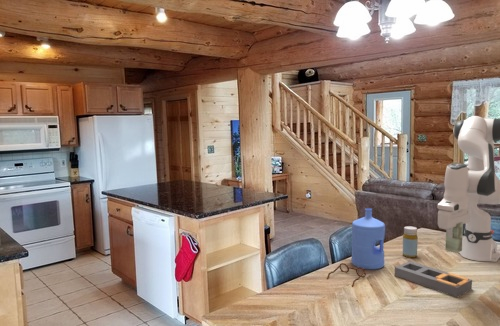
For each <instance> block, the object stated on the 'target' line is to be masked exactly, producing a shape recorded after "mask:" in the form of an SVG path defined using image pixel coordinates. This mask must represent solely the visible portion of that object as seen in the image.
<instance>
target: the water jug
mask: <svg viewBox="0 0 500 326" xmlns="http://www.w3.org/2000/svg"><path fill="white" fill-rule="evenodd" d="M364 210H365V212H364V213H365V214H364V216H363V217H360V218H358V219H355V220H353V221H352V223H351V234H352V235H351V264H352V265H353V266H354V267H356V268H363V269H364V270H379V269H381V268H383V267H384V266H385V250H384V245H385V244H384V240H385V236H386V225H385V223H384V222H383V221H381V220H379V219H377V218H374V217H373V215H372V214H373V212H372V210H373V208H370V207H367V208H364ZM378 241H379V247H378V246H376V245H375V242H378Z"/></svg>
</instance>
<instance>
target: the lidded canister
mask: <svg viewBox="0 0 500 326" xmlns="http://www.w3.org/2000/svg"><path fill="white" fill-rule="evenodd" d="M417 232H418V228H417V227H416V226H410V225H408V226H404V227H403V234H402V255H403V257H405V256H407V257H406V258H409V257H414V258H416V257H417V256H418V238H419V237H418V233H417Z"/></svg>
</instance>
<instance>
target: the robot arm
mask: <svg viewBox="0 0 500 326" xmlns="http://www.w3.org/2000/svg"><path fill="white" fill-rule="evenodd" d="M452 130H453V132H452V133H453V136H454V138H455V139H456V140H457V146H458V148H459V150H461V151H460V152H463V153H464V154H466V155H468V163H467V164H465V163H461V162H459V163H458V162H453V163H449V164H448V165H446V169H445V174H444V177H443V178H444V179H443V180H444V181H443V186H444V192H443V198H442V199H441V201H439V203H437V209H438V212H437V227H438V228H439V229H441V230H445V231H446V230H447V233H448V237H449V238H453V237H454V233H453V232H452V230H453V227H456V225H457V224H458V223H461V222H463V225H465V228H464V229H463V230H464V231H463V236H462V251H460V252H458V254H460V256H461V257H463V258H465V259H469V260H471V261H478V262H492V263H497V262H498V261H499V260H500V251H499V250H498V243H497V242H496V241H495V240H494V238H493V234H494V232H495V231H494V230H492V228H491V226H492V225H491V224H492V216H491V215H490V214H489V212H487V211H485V210H483V209H481V208H480V207H478V205H481V204H483V205H486V204H487V205H500V179H499V177H498V176H497V174H496V170H495V169H496V167H495V144H496V143H497V142H499V141H500V118H484V117H482V116H478V115H472V116H469V117H467V118H466V119H461V120H458V121H456V122H455V123H454V126H453V129H452ZM494 143H495V144H494Z"/></svg>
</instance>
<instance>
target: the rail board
mask: <svg viewBox="0 0 500 326" xmlns="http://www.w3.org/2000/svg"><path fill="white" fill-rule="evenodd" d="M394 276H395V277H397V276H398V277H397V278H400V279H403V280H406V281H409V282H412V283H415V284H417V285H420V286H423V287H426V288H429V289H432V290H435V291H437V292H440V293H444V294H446V295H449V296H452V297H454V298H458V297H460V296H462V295H464V294H465V293H468V292H469V291H471V290H472V289H473V287H472V286H473V285H472V284H473V279H470V278H468V277H465V276H461V275H458V274H456V273H451V272H448V271H443V270H441V269H438V268H434V267H431V266H429V265H425V264H421V263H418V262H414V261H413V260H412V261H411V260H409V261H407V262H404V263H402V264H399V265H397V266H396V265H395V267H394Z"/></svg>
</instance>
